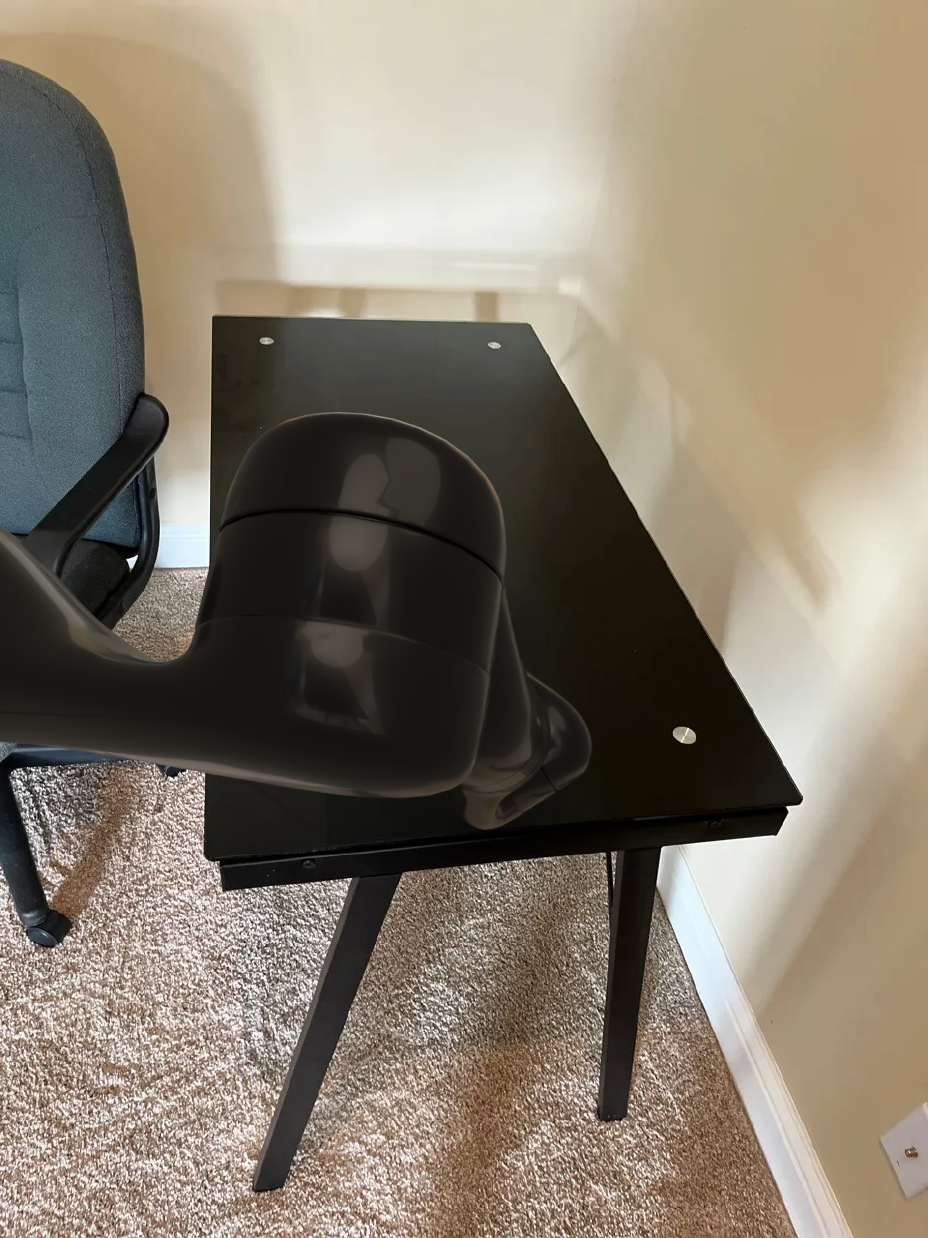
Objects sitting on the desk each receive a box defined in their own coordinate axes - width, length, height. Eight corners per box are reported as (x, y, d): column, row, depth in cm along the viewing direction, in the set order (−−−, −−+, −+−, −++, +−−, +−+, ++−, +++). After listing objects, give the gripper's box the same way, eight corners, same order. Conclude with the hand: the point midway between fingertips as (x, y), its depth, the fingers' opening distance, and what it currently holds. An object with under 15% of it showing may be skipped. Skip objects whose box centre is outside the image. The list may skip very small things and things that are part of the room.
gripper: (506, 548, 66) (425, 440, 77) (335, 582, 61) (275, 461, 72) (494, 617, 71) (420, 506, 82) (335, 654, 66) (279, 530, 77)
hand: (352, 486), depth 77 cm, fingers open, 4 cm apart
